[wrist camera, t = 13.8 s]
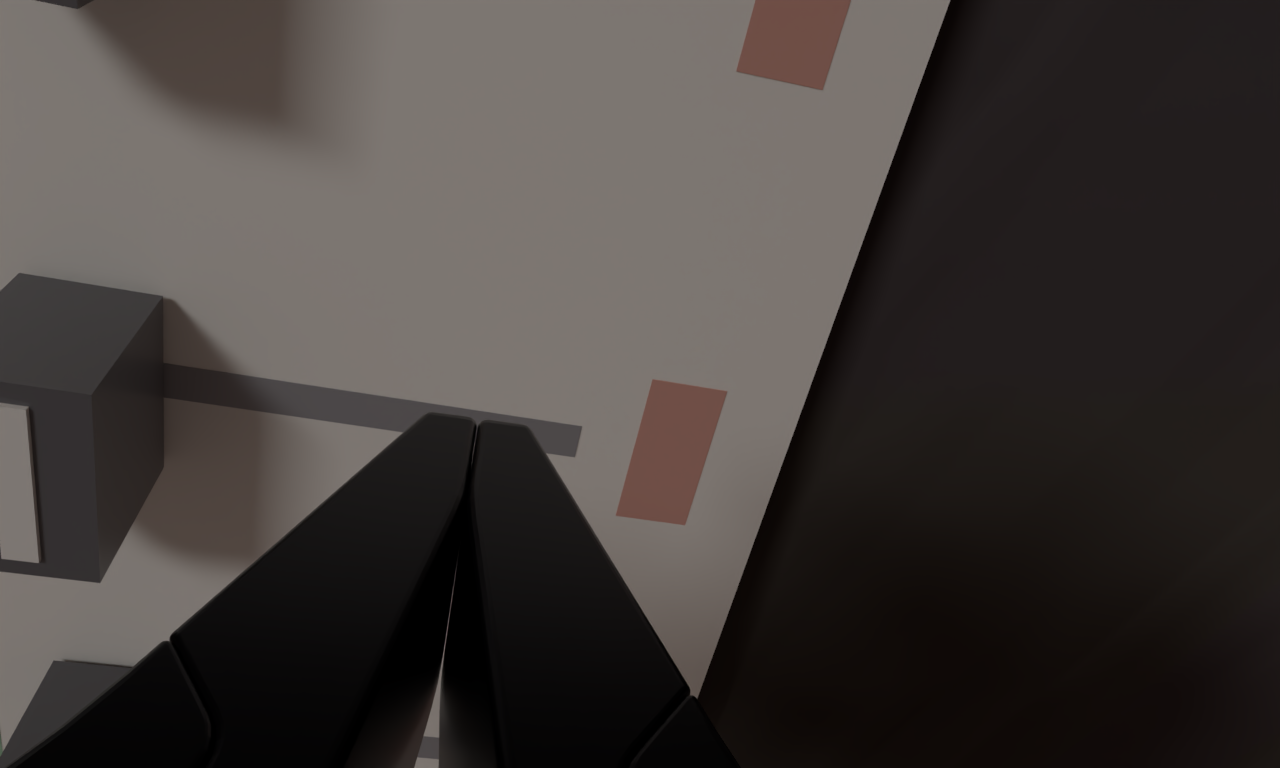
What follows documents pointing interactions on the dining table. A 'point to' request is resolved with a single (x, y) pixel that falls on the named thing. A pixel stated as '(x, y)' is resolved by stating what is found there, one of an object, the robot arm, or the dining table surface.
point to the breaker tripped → (76, 422)
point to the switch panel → (449, 262)
